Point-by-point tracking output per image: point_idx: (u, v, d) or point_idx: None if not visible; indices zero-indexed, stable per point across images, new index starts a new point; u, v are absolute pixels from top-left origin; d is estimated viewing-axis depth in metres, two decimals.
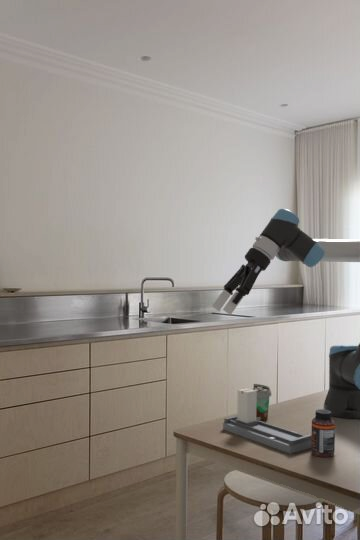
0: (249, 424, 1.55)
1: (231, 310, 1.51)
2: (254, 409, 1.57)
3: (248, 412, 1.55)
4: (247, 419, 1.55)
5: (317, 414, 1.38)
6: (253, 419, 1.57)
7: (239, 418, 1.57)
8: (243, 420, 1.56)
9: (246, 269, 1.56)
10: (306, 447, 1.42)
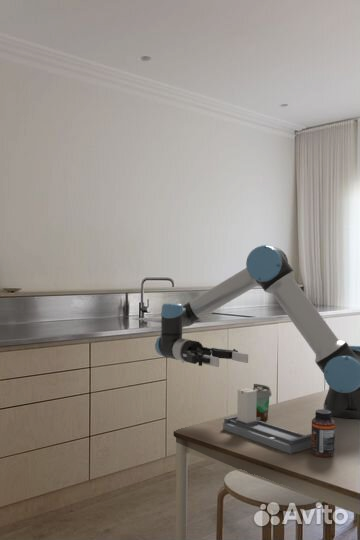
0: (249, 424, 1.55)
1: (214, 359, 1.59)
2: (254, 409, 1.57)
3: (248, 412, 1.55)
4: (247, 419, 1.55)
5: (317, 414, 1.38)
6: (253, 419, 1.57)
7: (239, 418, 1.57)
8: (243, 420, 1.56)
9: None
10: (306, 447, 1.42)
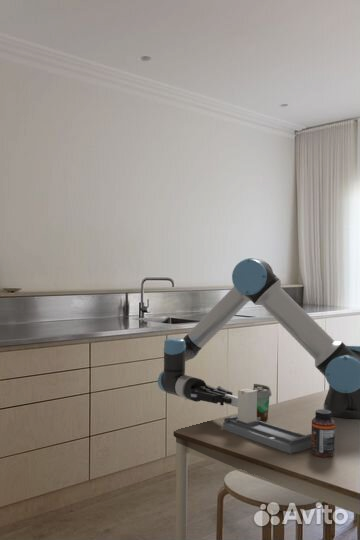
0: (249, 424, 1.55)
1: (236, 399, 1.60)
2: (254, 409, 1.57)
3: (248, 412, 1.55)
4: (247, 419, 1.55)
5: (317, 414, 1.38)
6: (253, 419, 1.57)
7: (239, 418, 1.57)
8: (243, 420, 1.56)
9: None
10: (306, 447, 1.42)
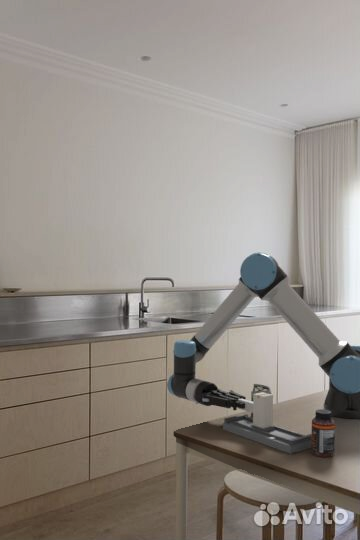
0: (265, 429, 1.50)
1: (250, 404, 1.54)
2: (270, 414, 1.52)
3: (264, 417, 1.50)
4: (263, 424, 1.50)
5: (317, 414, 1.38)
6: (269, 424, 1.52)
7: (255, 423, 1.52)
8: (259, 425, 1.51)
9: None
10: (306, 447, 1.42)
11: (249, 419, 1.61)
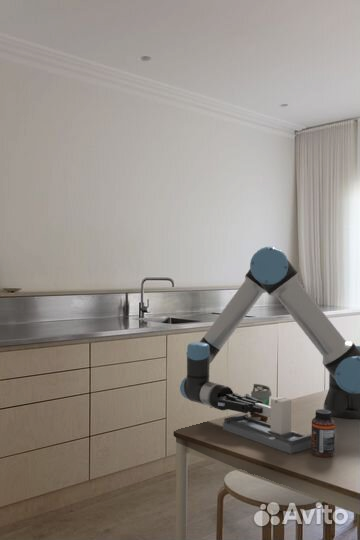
0: (284, 436, 1.45)
1: (268, 409, 1.49)
2: (289, 419, 1.47)
3: (282, 422, 1.45)
4: (282, 430, 1.45)
5: (317, 414, 1.38)
6: (288, 430, 1.46)
7: (273, 429, 1.47)
8: (277, 431, 1.46)
9: None
10: (306, 447, 1.42)
11: (249, 419, 1.61)
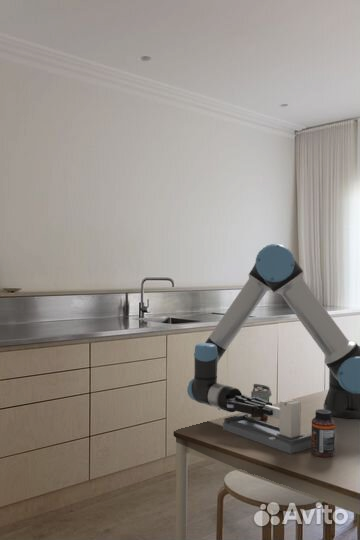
0: None
1: (278, 411, 1.47)
2: (298, 422, 1.44)
3: (292, 425, 1.42)
4: (291, 433, 1.42)
5: (317, 414, 1.38)
6: (297, 433, 1.44)
7: (282, 432, 1.44)
8: (286, 434, 1.43)
9: None
10: (306, 447, 1.42)
11: (249, 419, 1.61)
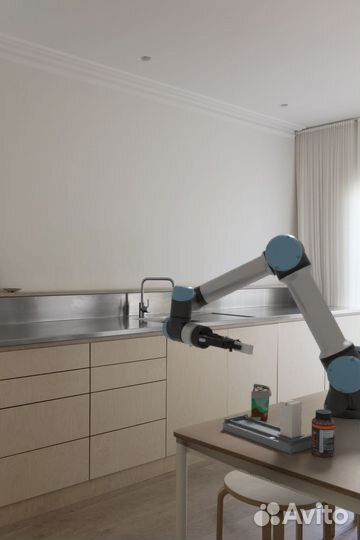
0: None
1: (247, 346, 1.59)
2: (299, 422, 1.44)
3: (293, 426, 1.42)
4: (292, 434, 1.42)
5: (317, 414, 1.38)
6: (298, 433, 1.44)
7: (282, 432, 1.44)
8: (287, 435, 1.43)
9: (209, 344, 1.69)
10: (306, 447, 1.42)
11: (249, 419, 1.61)
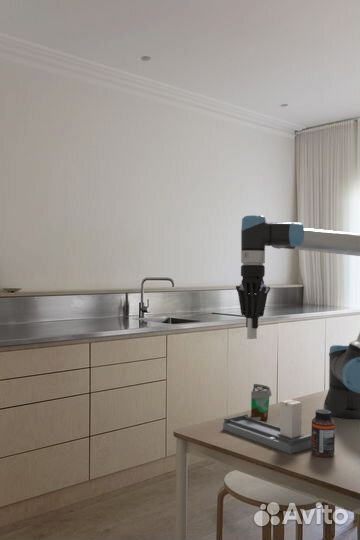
0: None
1: (255, 334, 1.67)
2: (299, 422, 1.44)
3: (293, 426, 1.42)
4: (292, 434, 1.42)
5: (317, 414, 1.38)
6: (298, 433, 1.44)
7: (282, 432, 1.44)
8: (287, 435, 1.43)
9: (253, 289, 1.65)
10: (306, 447, 1.42)
11: (249, 419, 1.61)
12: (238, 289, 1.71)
